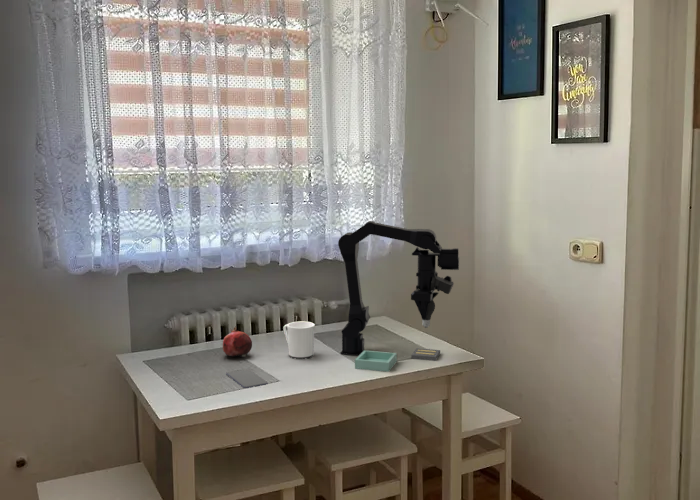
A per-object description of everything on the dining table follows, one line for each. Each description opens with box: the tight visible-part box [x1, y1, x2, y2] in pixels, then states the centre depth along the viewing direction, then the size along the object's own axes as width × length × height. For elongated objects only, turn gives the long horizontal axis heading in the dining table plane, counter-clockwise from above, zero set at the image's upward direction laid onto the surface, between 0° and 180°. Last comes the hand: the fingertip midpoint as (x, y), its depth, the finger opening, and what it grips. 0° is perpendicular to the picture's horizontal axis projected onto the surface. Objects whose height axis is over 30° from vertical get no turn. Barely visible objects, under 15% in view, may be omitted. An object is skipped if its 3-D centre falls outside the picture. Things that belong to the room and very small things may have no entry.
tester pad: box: [410, 347, 441, 361], centre depth 239 cm, size 8×8×1 cm
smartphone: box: [225, 368, 268, 389], centre depth 216 cm, size 8×1×15 cm
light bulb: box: [417, 299, 436, 329], centre depth 236 cm, size 6×6×10 cm
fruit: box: [222, 325, 253, 358], centre depth 238 cm, size 9×10×10 cm
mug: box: [282, 320, 316, 360], centre depth 239 cm, size 11×9×10 cm
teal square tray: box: [354, 349, 398, 373], centre depth 229 cm, size 11×11×3 cm
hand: (426, 316), depth 237 cm, fingers closed on light bulb, 5 cm apart
